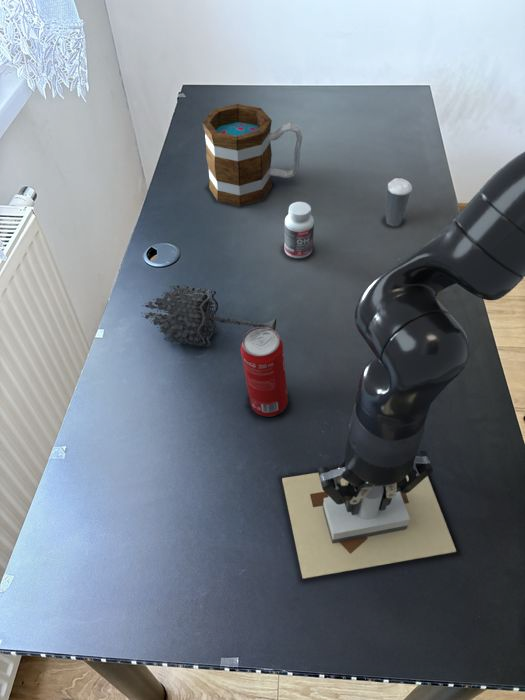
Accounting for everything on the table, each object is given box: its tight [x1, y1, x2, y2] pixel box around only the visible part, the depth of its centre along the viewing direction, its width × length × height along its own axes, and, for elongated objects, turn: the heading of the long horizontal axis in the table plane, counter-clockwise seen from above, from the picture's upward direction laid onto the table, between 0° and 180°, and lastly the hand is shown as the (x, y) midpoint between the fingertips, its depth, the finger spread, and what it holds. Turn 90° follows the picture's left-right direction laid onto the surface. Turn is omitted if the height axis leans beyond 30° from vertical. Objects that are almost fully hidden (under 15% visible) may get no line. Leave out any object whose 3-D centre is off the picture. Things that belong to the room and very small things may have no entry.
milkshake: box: [384, 177, 413, 227], centre depth 115 cm, size 4×5×10 cm
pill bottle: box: [283, 201, 315, 259], centre depth 110 cm, size 5×5×10 cm
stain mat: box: [281, 472, 457, 580], centre depth 80 cm, size 20×14×1 cm
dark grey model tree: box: [140, 284, 277, 347], centre depth 97 cm, size 9×22×9 cm, turn 79°
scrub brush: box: [323, 486, 410, 543], centre depth 76 cm, size 10×5×8 cm, turn 101°
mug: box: [202, 103, 303, 207], centre depth 122 cm, size 20×14×15 cm
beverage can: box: [240, 326, 289, 417], centre depth 86 cm, size 6×6×15 cm
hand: (366, 505), depth 76 cm, fingers closed on scrub brush, 3 cm apart
